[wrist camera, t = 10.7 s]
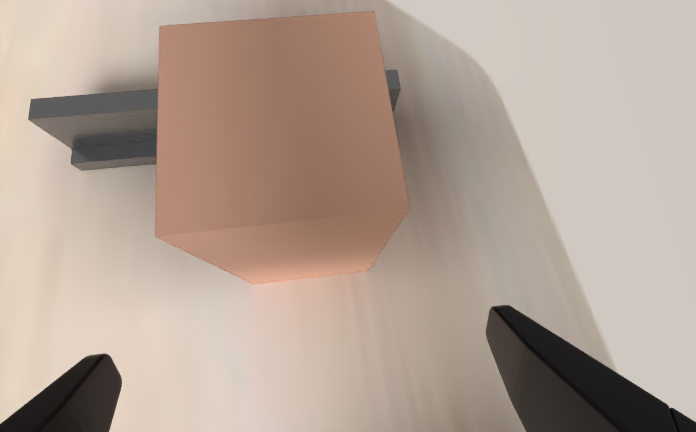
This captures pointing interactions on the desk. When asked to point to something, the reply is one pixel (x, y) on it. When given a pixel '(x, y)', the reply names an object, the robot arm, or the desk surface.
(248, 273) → the carton
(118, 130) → the rail
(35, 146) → the desk surface
